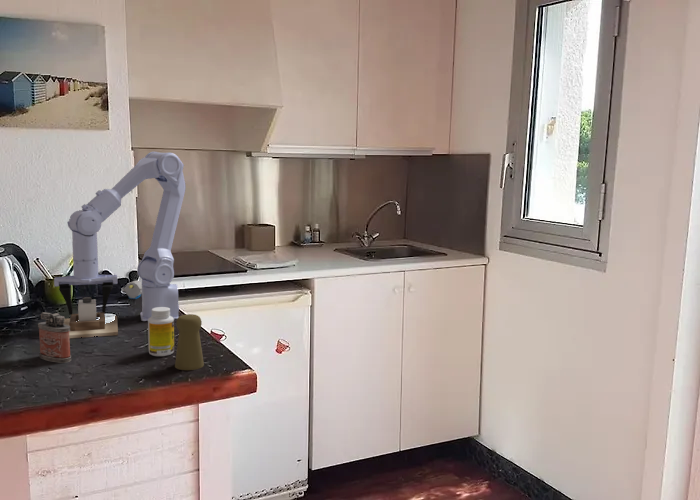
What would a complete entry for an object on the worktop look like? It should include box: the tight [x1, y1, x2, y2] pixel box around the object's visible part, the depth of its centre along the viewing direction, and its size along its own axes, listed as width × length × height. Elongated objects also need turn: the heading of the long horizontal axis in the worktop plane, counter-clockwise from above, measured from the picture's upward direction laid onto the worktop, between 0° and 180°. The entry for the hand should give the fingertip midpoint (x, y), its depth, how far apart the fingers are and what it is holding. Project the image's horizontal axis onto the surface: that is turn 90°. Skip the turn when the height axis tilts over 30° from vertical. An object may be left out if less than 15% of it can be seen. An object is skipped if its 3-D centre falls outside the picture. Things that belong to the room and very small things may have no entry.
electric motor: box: [121, 280, 142, 300], centre depth 200 cm, size 7×5×5 cm
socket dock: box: [64, 311, 119, 339], centre depth 167 cm, size 14×16×3 cm
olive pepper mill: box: [174, 313, 205, 371], centre depth 141 cm, size 6×6×11 cm
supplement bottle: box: [147, 307, 175, 357], centre depth 149 cm, size 6×6×10 cm
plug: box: [77, 296, 97, 321], centre depth 167 cm, size 4×5×7 cm
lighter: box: [37, 311, 72, 364], centre depth 143 cm, size 8×3×10 cm, turn 65°
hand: (87, 312), depth 167 cm, fingers open, 7 cm apart
